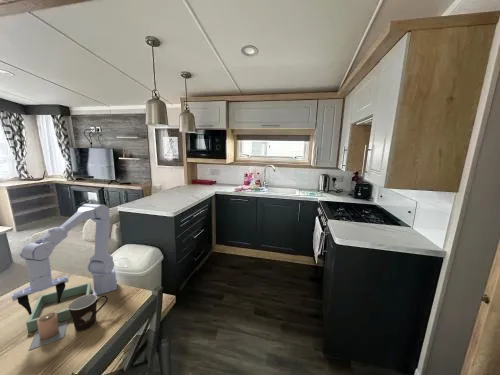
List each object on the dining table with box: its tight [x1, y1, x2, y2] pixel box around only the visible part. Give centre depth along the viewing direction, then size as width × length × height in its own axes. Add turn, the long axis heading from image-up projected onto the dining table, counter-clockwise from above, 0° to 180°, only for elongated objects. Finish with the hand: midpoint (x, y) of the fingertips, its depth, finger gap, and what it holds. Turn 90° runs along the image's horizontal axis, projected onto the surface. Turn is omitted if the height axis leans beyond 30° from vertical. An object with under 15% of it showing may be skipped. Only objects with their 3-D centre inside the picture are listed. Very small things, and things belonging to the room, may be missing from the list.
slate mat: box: [28, 320, 68, 351], centre depth 76 cm, size 9×9×1 cm
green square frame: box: [26, 281, 92, 333], centre depth 89 cm, size 18×18×4 cm
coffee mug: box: [68, 293, 109, 332], centre depth 80 cm, size 12×9×10 cm
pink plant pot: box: [37, 311, 59, 340], centre depth 75 cm, size 5×5×7 cm
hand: (45, 307), depth 77 cm, fingers open, 7 cm apart
